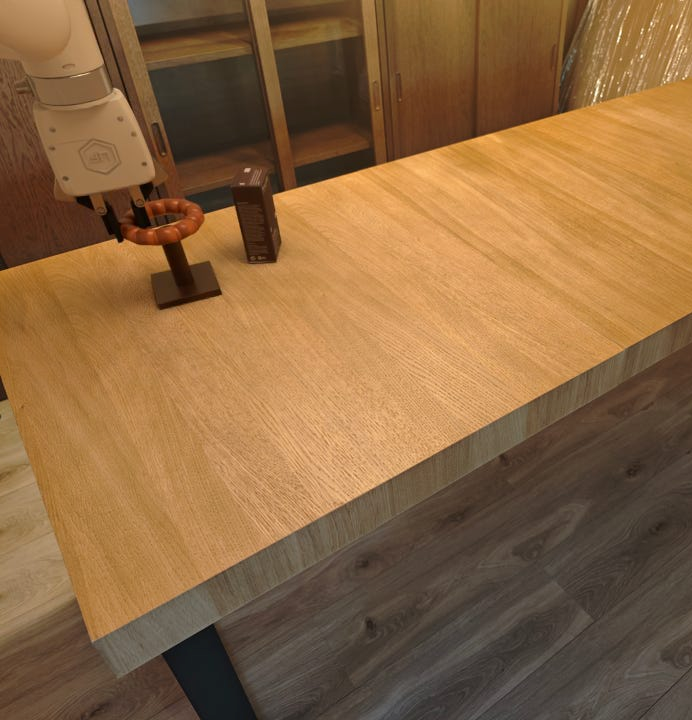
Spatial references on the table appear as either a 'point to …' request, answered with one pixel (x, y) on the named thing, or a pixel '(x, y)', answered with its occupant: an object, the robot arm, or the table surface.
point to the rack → (183, 279)
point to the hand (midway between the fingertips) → (132, 233)
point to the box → (256, 214)
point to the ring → (165, 234)
